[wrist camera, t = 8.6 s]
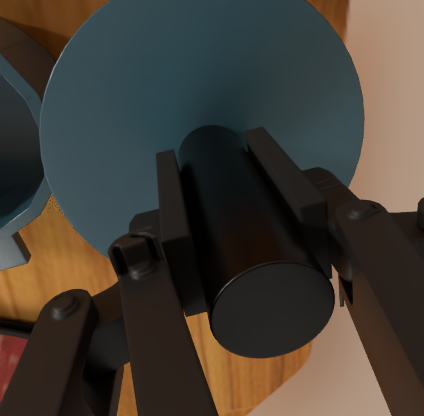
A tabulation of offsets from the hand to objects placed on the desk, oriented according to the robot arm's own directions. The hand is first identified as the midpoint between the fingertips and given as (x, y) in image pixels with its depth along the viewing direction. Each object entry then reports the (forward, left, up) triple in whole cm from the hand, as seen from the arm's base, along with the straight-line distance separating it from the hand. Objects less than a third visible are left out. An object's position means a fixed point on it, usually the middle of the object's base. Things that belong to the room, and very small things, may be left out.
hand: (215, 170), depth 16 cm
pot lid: (0, 0, -2) cm, 2 cm away
